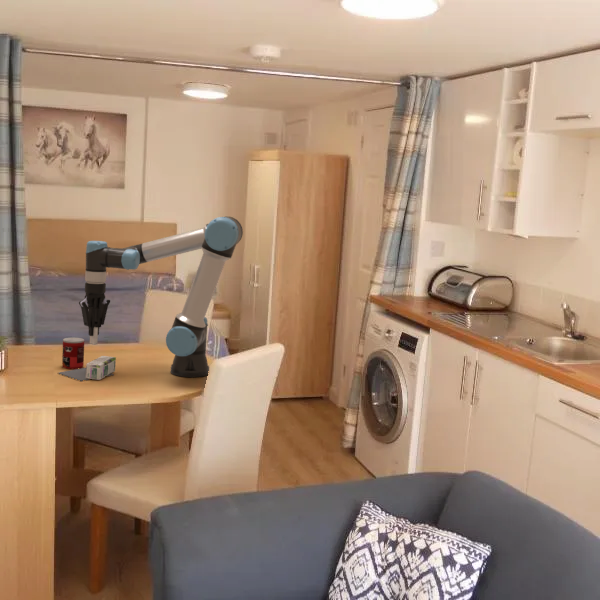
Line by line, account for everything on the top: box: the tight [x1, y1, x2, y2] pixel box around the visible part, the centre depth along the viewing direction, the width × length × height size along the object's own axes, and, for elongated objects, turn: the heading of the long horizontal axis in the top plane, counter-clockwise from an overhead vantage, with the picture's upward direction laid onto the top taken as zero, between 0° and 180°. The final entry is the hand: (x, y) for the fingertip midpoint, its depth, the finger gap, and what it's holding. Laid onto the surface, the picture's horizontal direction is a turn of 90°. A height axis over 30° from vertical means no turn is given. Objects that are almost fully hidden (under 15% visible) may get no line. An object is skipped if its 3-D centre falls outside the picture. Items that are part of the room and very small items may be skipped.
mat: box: [58, 367, 115, 382], centre depth 277 cm, size 14×15×1 cm
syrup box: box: [85, 355, 117, 381], centre depth 276 cm, size 6×6×14 cm
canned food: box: [61, 337, 85, 370], centre depth 286 cm, size 8×8×11 cm
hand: (93, 343), depth 278 cm, fingers closed
